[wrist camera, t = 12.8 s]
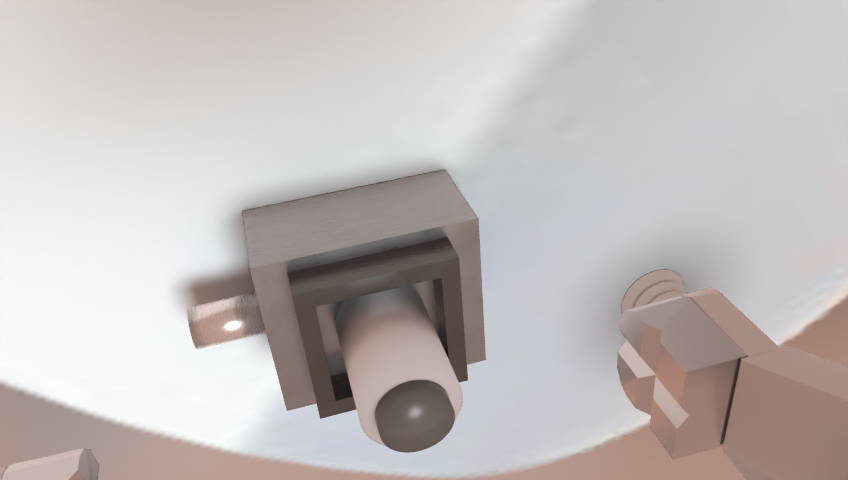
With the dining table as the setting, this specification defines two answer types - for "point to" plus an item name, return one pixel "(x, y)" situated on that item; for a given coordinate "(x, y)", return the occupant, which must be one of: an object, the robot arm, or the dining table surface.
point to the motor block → (352, 279)
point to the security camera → (398, 370)
